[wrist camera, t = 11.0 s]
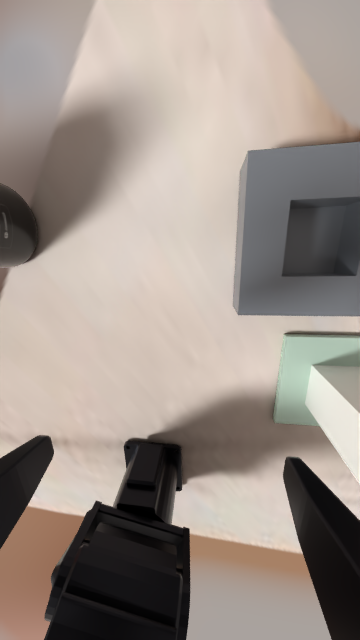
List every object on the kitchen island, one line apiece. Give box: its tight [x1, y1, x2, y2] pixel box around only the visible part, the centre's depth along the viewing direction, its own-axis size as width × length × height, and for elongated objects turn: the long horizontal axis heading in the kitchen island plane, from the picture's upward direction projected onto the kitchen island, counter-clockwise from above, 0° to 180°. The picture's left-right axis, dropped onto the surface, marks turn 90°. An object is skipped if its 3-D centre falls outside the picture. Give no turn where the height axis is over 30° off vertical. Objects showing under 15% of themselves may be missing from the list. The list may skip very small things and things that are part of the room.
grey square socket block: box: [233, 142, 360, 316], centre depth 14 cm, size 10×10×3 cm
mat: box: [273, 334, 360, 426], centre depth 19 cm, size 9×9×1 cm
